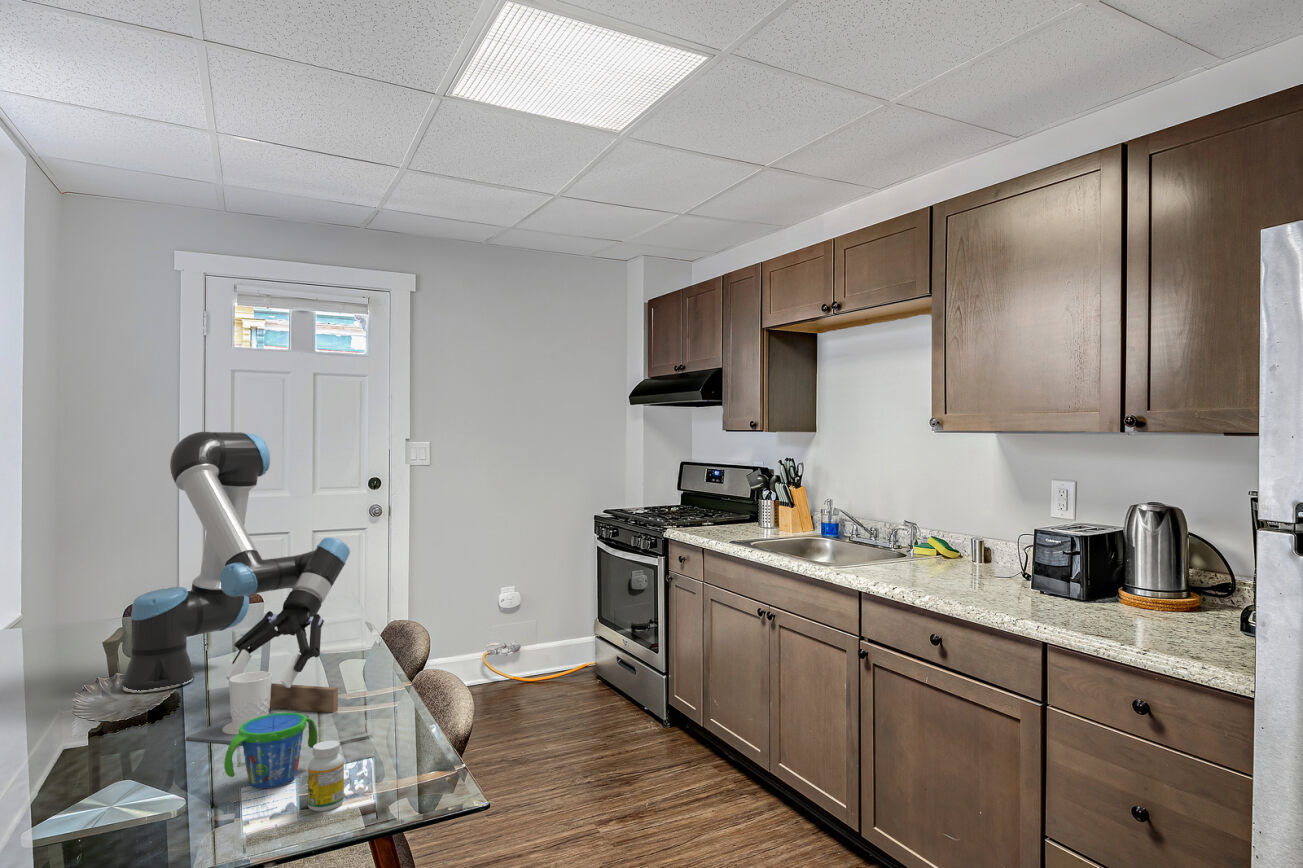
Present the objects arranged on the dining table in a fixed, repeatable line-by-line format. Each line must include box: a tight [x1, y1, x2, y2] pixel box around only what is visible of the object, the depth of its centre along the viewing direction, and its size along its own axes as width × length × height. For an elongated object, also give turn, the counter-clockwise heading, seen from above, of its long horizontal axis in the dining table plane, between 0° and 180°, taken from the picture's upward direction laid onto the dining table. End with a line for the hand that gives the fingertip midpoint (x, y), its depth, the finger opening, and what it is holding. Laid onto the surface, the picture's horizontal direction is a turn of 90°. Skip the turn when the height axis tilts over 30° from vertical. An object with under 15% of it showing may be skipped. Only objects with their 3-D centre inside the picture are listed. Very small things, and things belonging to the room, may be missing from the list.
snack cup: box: [223, 711, 319, 789], centre depth 130 cm, size 16×10×10 cm
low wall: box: [269, 682, 339, 713], centre depth 168 cm, size 22×2×5 cm, turn 77°
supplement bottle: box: [307, 740, 345, 812], centre depth 120 cm, size 5×5×10 cm
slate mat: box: [185, 711, 310, 746], centre depth 155 cm, size 16×16×1 cm
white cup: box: [228, 670, 273, 730], centre depth 155 cm, size 8×8×10 cm
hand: (257, 682), depth 156 cm, fingers open, 13 cm apart
